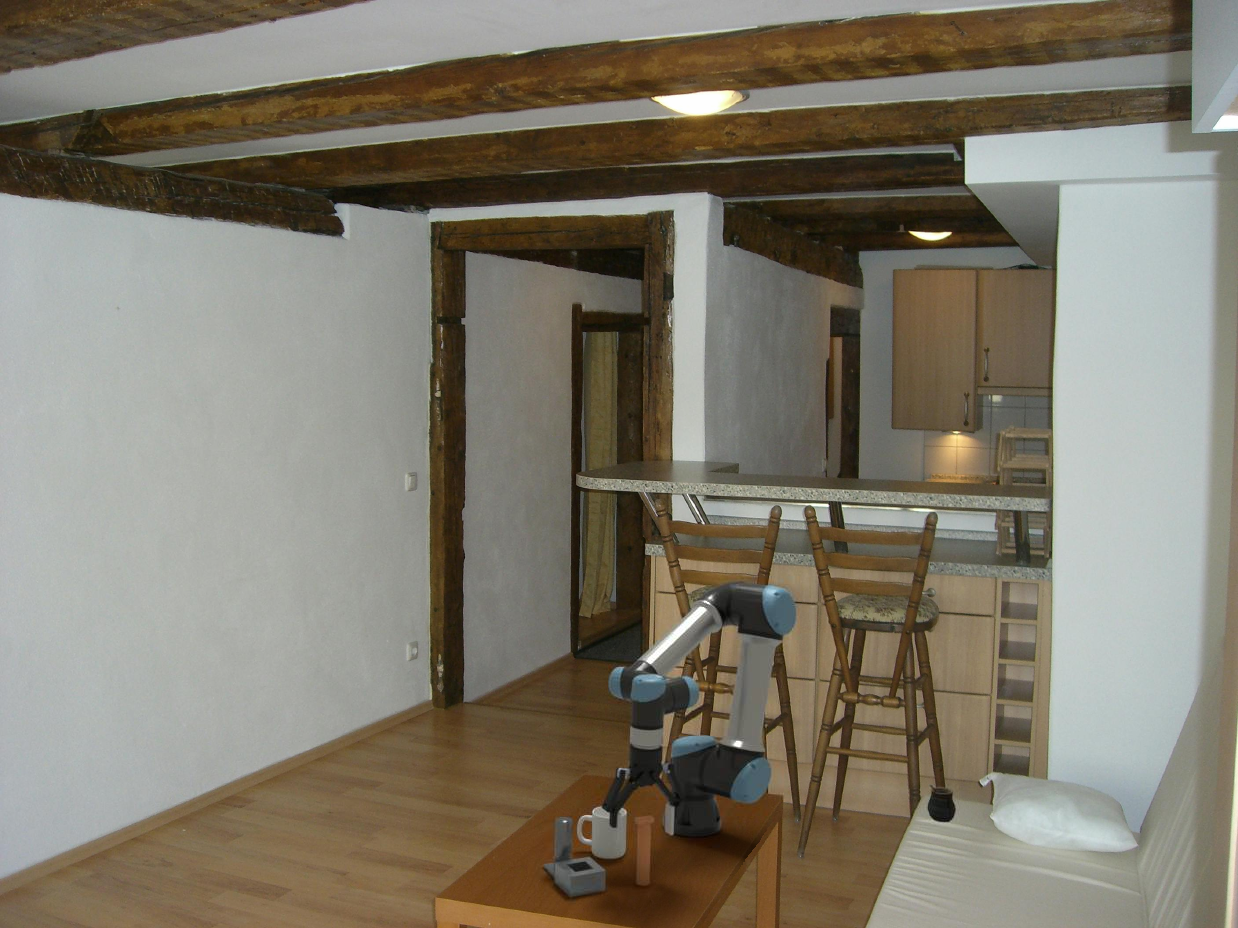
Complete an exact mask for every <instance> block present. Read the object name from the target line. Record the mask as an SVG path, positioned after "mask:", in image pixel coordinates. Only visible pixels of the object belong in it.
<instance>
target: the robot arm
mask: <svg viewBox="0 0 1238 928" xmlns="http://www.w3.org/2000/svg"><path fill="white" fill-rule="evenodd" d="M796 619H797V607H796V602H795V600H794V597H793V596H792V594H791V593H790V592H789V591H788V589H785V588H784V587H780V586H775V585H772V584H771V585H768V584H762V583H755V582H754V583H753V582H745V581H742V580H733V581H728V582H724V583H722V584H719V585H718V586H715V587H713V588H712V589H710V590H708V591H706V592H705V593H704V594H702V595H701V596H699V597H698V598H697V599H696V600H695V601H694V602H693V603H692V604H691V607H690V611H689V612H688V613H686V615H685V616H683V617H682V619H680V620H679V621H678V622H677V623H676V624H675V625H674V626H673V627H672V628H670V629H669V630H668V631H667V632H666V633H665V634H664V635H663V636H662V637H661V638H659V640H657V642H656V643H654V644H653V645H652V646H651V647H650V648H649V649H648V650H647V651H646V652H645V653H643V654H642V655H641V656H640V658H638V659H637V660H636V661H635V662H634V663H632V665H631V666H629V667H628V666H618V667H615V668H614V669H613V670H612V671H611V673H610V674H609V676H608V677H609V678H608V689H609V692H610V694H611V695H612V696H613V697H616V698H618V699H622V700H623V701H628V702H630V703H631V704H630V708H631V709H630V728H629V731H630V732H629V742H630V745H629V750H628V752H629V753H628V754H629V755H628V757H629V758H628V760H629V764H628V765H629V766H628V767H627V768H622V767H620V766H618V767H616V768H615V774H614V775H615V776H614V779H613V781H612V783H611V785H610V787H609V789H608V791H607V794H606V796H605V799H604V801H603V803H602V805H601V806H602V809H604V810H605V811H606V812H608V813H610V820H609V824H610V826H611V827H612V840H614V841H615V842H616V843H620V839H621V814H620V813H619V811H620V809H621V808H623V807H624V806H625V805H626V803H627V801H628V800H629V799H630V797H631V796H632V794H633V793H634V791H637V789H639V788H645V787H647V786H649V787H652V786H653V787H654V785H655V786H656V787H657V789H658V790H660V792H661V794H663V796H664V797H665V798H666V800H668V801H667V802H666V803H665V809H664V813H663V815H662V827H663V828H664V832H665V833H667V834H668V835H670V836H674V834H675V835H678V836H683V837H699V838H700V837H706V836H707V837H708V836H711V835H715V834H716V833H717V834H718V832H720V831H721V829H722V817H721V814H720V811H719V807H718V802H717V799H716V796H718V797H721V798H725V799H730V800H732V801H733V802H736V803H739V802H740V803H743V804H753V803H755V802H758V801H759V800H760V798H761V797H762V796H763V795H764V794H765V793H766V791H767V789H768V787H769V785H770V783H771V778H772V768H771V763H770V762H769V760H768V759H767V758H765V753H766V748H764V745H762V743H761V740H762V734H763V728H764V721H765V715H766V708H767V703H768V702H767V701H768V697H769V696H768V695H769V689H770V684H771V683H770V682H771V678H772V671H773V666H774V660H775V652H776V648H777V647H778V646H779V645H780V644H782V643H783V641H784V636H785V635H789V634H790V633H791V632H792V631H793V628H794V627H795V625H796ZM728 626H734V627H738V628H737V633H736V635H737V636H738V637H739V638H740V640H741V644H740V651H739V658H738V663H737V668H736V669H737V670H736V674H735V676H736V677H735V682H734V688H733V693H732V694H733V695H732V700H731V706H730V707H731V708H730V713H729V719H728V723H727V724H728V725H727V729H726V730H727V731H726V736H724V737H723V738H721V740H719V742H718V741H717V739H716V738H715V737H714V736H712V735H700V734H699V735H689V736H683V737H679V738H677V739H676V740H674V741H673V742H672V743H671V753H670V754H671V755H670V761H667V760H666V761H665V762H664V763H662V762H663V753H664V752H663V750H664V748H663V746H662V745H663V744H664V723H665V722H664V721H665V720H664V719H665V715H669V714H673V713H677V712H681V711H682V712H683V711H686V710H688V709H690V708H692V707H695V706H696V704H697V703H698V702H699V698H700V688H699V685H698V684H697V682H696V680H694V679H693V678H692V677H691V676H686V675H685V676H677V677H670V676H667V675H669V674H670V672H671V671H673V670H674V669H675V668H676V667H677V666H678V665H679V664H680V663H682V661H683V660H684V659H685V658H686V657H688V655H689V654H691V652H692V651H693V650H695V649H696V648H697V647H698V646H699V645H700V644H701V643H702V641H704V640H705V639H707V637H708V636H709V635H710V634H713V633H718V632H719V631H721V629H722V628H724V627H728ZM663 772H664V773H665V776H666V778H667V781H668V782H669V784H670V786H669V787H670V789H669V788H668V787H667V785H666V784H665V782H664V781H663V780H662V778H661V777H660V776H661V774H662V773H663ZM628 775H629V777H628ZM627 778H628V779H627ZM626 779H627V780H626ZM625 780H626V781H625ZM624 784H625V785H624ZM622 787H623V788H622Z"/></svg>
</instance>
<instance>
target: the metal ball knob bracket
mask: <svg viewBox="0 0 1238 928" xmlns="http://www.w3.org/2000/svg"><path fill="white" fill-rule="evenodd" d="M554 824H555V825H554V855H553V856H554V859H553V860H554V862H549V863H544V864H542V868H543V869H544V870H545V871H546V872H547V873H548V874H549V875H550V876H551V877H552V878H554V884H556V885H557V887H559V888H560V889H561V890H562V891H563V892H564V893H565V894H566V895H567V896H568V897H569V898H573V897H579V896H584V895H590V894H596V893H601V892H605V891H606V878H607V877H606V876H607V874H606V869H604V868H603V867H602V866H601V865H600V864H599V863H597V861H595V860H594V859H593V858H592V857H591V856H585V857H581V858H580V857H578V858H573V859H572V854H573V853H572V851H573V818H571V817H566V816H560V817H557V818H555V820H554Z"/></svg>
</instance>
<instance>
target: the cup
mask: <svg viewBox="0 0 1238 928" xmlns="http://www.w3.org/2000/svg"><path fill="white" fill-rule="evenodd" d="M619 813H620V814H621V839H620V843H616V842H615V841H614V840H612V827H611V826H610V824H609V820H610V813H608V812H606V811H605V810H604V809H602V805H601V806H597V807H595V808H593V809H592V814H591V815H589V814H585V815H583V816H581V817H580V818H579V820H578V822H577V826H576V827H577V828H576V833H577V838H578V840H579V841H580V843H582V844H584V845H586V846H587V845H588V846H591V852H592V854H593V856H595V858H599V859H604V860H613V859H614V860H615V859H620V858H622V857H623V856H624V855H625V853H626V850H627V849H626V848H627V847H626V846H627V845H626V844H627V810H626V809H625V808H623V807H622V808H621V809H620V811H619ZM584 821H589V822H591V839H587V838H585V837H584V836H583V832H582V827H583V823H584Z"/></svg>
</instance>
